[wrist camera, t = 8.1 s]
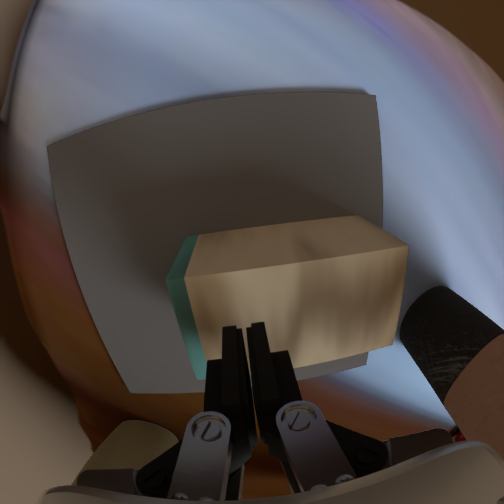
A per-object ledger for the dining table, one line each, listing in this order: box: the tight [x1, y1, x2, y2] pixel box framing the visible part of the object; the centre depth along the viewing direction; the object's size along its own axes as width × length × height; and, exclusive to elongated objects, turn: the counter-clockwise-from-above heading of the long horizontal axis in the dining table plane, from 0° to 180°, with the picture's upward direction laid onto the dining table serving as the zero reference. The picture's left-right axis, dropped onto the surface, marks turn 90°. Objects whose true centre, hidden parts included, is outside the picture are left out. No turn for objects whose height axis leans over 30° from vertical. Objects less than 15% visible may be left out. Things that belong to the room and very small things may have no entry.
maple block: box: [166, 215, 409, 380], centre depth 15 cm, size 6×6×11 cm
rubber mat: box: [47, 92, 383, 394], centre depth 18 cm, size 22×22×1 cm
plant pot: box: [72, 420, 179, 485], centre depth 18 cm, size 15×15×16 cm
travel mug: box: [400, 286, 504, 461], centre depth 12 cm, size 8×8×20 cm
